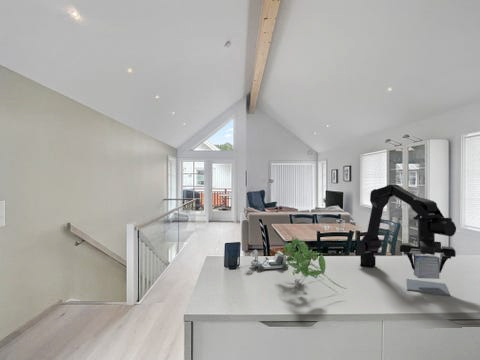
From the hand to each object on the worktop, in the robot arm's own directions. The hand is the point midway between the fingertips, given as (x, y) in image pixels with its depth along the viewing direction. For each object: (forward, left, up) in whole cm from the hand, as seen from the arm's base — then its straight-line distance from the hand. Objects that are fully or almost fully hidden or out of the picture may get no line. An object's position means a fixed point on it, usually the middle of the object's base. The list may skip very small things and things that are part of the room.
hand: (426, 271), depth 122 cm
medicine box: (0, 0, -3) cm, 3 cm away
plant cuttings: (-42, -20, -7) cm, 47 cm away
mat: (0, 0, -7) cm, 7 cm away
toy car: (-68, -2, -7) cm, 68 cm away
